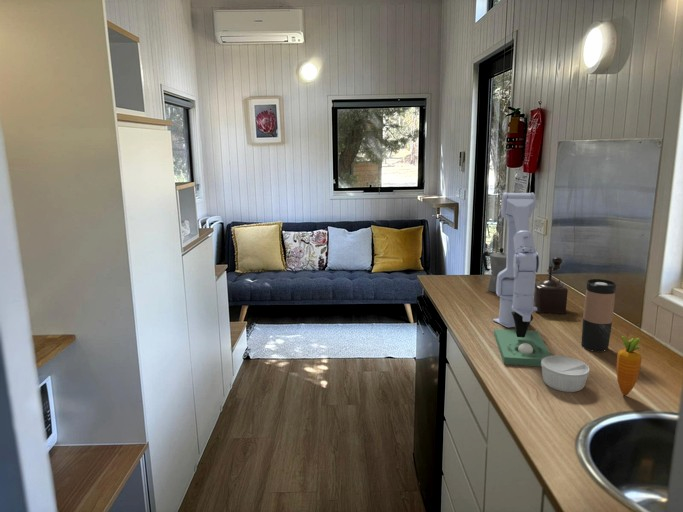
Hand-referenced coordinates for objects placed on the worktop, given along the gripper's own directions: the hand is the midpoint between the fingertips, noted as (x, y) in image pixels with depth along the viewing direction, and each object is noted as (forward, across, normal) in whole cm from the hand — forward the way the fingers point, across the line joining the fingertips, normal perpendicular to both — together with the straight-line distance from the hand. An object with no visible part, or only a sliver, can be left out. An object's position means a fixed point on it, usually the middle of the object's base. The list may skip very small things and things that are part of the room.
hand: (520, 336), depth 147 cm
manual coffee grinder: (+3, +40, -16) cm, 43 cm away
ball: (+1, -8, 0) cm, 8 cm away
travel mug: (+3, +2, -22) cm, 22 cm away
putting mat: (+3, -3, 0) cm, 4 cm away
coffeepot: (+3, +61, -1) cm, 61 cm away
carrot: (+3, -28, -19) cm, 34 cm away
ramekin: (+3, -24, -7) cm, 25 cm away
